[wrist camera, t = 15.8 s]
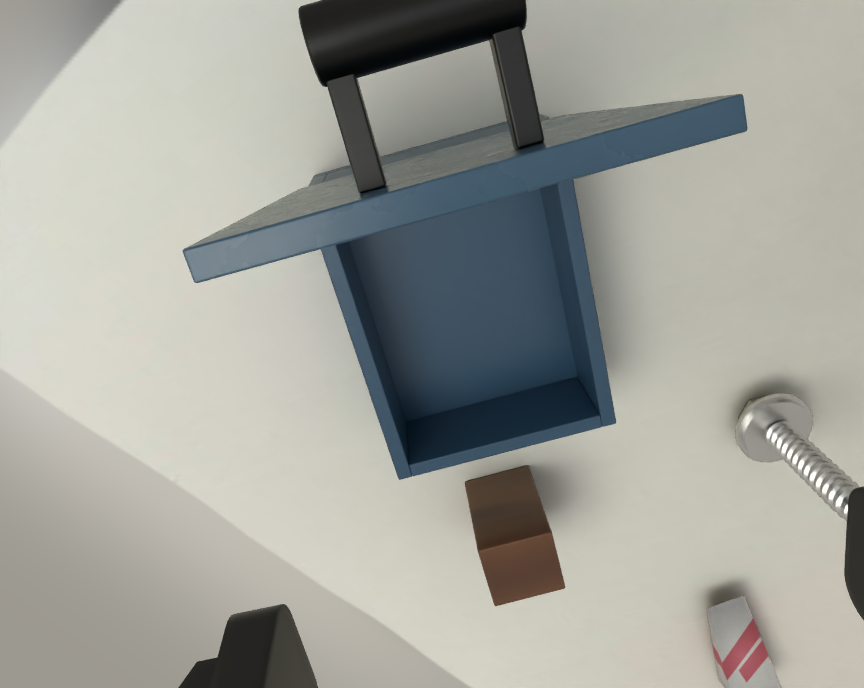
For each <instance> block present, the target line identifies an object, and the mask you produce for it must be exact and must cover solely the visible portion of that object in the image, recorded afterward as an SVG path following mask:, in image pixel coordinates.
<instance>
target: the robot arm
mask: <svg viewBox="0 0 864 688" xmlns="http://www.w3.org/2000/svg"><path fill="white" fill-rule="evenodd" d="M844 572H845V581H846V586H847V589H848V592H849V595H850V598H851V600H852V602H853V604H854V606H855V608H856V610H857V611H858V613H859V614H860V616H861V617H862V619H863V620H864V487H859V488H855V489H854V490H852V491H851V493H850V495H849V498H848V511H847V530H846V550H845V569H844ZM179 688H318V686H317V682H316V679H315V676H314V673H313V670H312V668H311V665H310V662H309V660H308V657H307V654H306V652H305V649H304V646H303V644H302V641H301V638H300V636H299V633H298V630H297V627H296V625H295V622H294V619H293V617H292V614H291V612H290V610H289V608H288V607H287V606H286V605H285V604H281V605H277V606H272V607H267V608H262V609H257V610H252V611H247V612H242V613H237V614H234V615H231V617H230V618H229V620H228V622H227V625H226V628H225V632H224V635H223V639H222V643H221V647H220V650H219V654H218V658H213V659H209V660H204V661H199V662H197V663H196V664H195V666H194V667H193V668H192V670H191V671H190V672H189V674H188V675H187V677H186V678H185V679H184V681H183V682H182V684H181V685H180V686H179Z"/></svg>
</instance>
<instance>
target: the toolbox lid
mask: <svg viewBox="0 0 864 688" xmlns="http://www.w3.org/2000/svg"><path fill="white" fill-rule="evenodd" d="M299 19H300V24H301V28H302V32H303V36H304V39H305V43H306V46H307V49H308V52H309V56H310V59H311V62H312V64H313V67H314V70H315V72H316V75H317V77H318V80H319V82H320V83H321V85H322V86H324V87H328V90H329V93H330V97H331V100H332V104H333V107H334V110H335V114H336V117H337V121H338V124H339V127H340V131H341V134H342V137H343V141H344V144H345V148H346V151H347V154H348V158H349V161H350V165H351V168H352V171H353V174H351V175H348V176H344V177H341V178H337V179H333V180H330V181H326V182H323V183H319V184H316V185H312V186H309V187H305V188H301V189H299V190H297V191H295V192H293V193H291V194H289V195H287V196H285V197H283V198H281V199H279V200H278V201H276V202H274V203H272V204H270V205H268V206H266V207H264V208H262V209H260V210H258V211H256V212H254V213H253V214H251V215H249V216H247V217H245V218H243V219H241V220H239V221H237V222H235V223H233V224H231V225H229V226H227V227H226V228H224V229H222V230H220V231H218V232H216V233H214V234H212V235H210V236H208V237H206V238H204V239H202V240H201V241H199V242H197V243H195V244H193V245H191V246H189V247H187V248H185V249H184V250H183V254H184V256H185V259H186V261H187V264H188V267H189V269H190V272H191V275H192V277H193V280H194V282H195V283H199V282H203V281H207V280H210V279H214V278H218V277H221V276H225V275H228V274H232V273H236V272H239V271H243V270H247V269H250V268H254V267H257V266H261V265H265V264H268V263H272V262H275V261H279V260H283V259H286V258H290V257H294V256H297V255H301V254H304V253H308V252H312V251H315V250H319V249H323V248H326V247H330V246H333V245H337V244H341V243H344V242H348V241H351V240H355V239H359V238H362V237H366V236H370V235H373V234H377V233H380V232H384V231H388V230H391V229H395V228H398V227H402V226H406V225H409V224H413V223H417V222H420V221H424V220H427V219H431V218H435V217H438V216H442V215H446V214H449V213H453V212H456V211H460V210H464V209H467V208H471V207H474V206H478V205H482V204H485V203H489V202H493V201H496V200H500V199H503V198H507V197H511V196H514V195H518V194H522V193H525V192H529V191H532V190H536V189H540V188H543V187H547V186H550V185H554V184H558V183H561V182H565V181H569V180H572V179H576V178H579V177H583V176H587V175H590V174H594V173H598V172H601V171H605V170H608V169H612V168H616V167H619V166H623V165H626V164H630V163H634V162H637V161H641V160H645V159H648V158H652V157H655V156H659V155H663V154H666V153H670V152H673V151H677V150H681V149H684V148H688V147H692V146H695V145H699V144H702V143H706V142H710V141H713V140H717V139H721V138H724V137H728V136H731V135H735V134H739V133H742V132H745V131H746V130H747V122H746V114H745V106H744V98H743V95H742V94H735V95H727V96H719V97H710V98H702V99H694V100H685V101H677V102H669V103H660V104H652V105H644V106H635V107H627V108H619V109H610V110H602V111H594V112H585V113H577V114H569V115H562V116H558V117H555V118H551V119H547V120H544V121H540V116H539V111H538V106H537V102H536V97H535V92H534V88H533V83H532V78H531V73H530V69H529V64H528V59H527V54H526V50H525V45H524V40H523V35H522V30H523V29H524V28H525V26H526V20H527V8H526V0H321V1H317V2H314V3H310V4H307V5H304V6H301V7H300V8H299ZM488 40H489V42H490V46H491V50H492V55H493V59H494V64H495V68H496V73H497V77H498V82H499V86H500V90H501V95H502V99H503V104H504V108H505V113H506V117H507V122H508V126H509V130H508V131H505V132H501V133H497V134H494V135H490V136H487V137H483V138H480V139H476V140H473V141H469V142H465V143H462V144H458V145H455V146H451V147H448V148H444V149H440V150H437V151H433V152H430V153H426V154H423V155H419V156H415V157H412V158H408V159H405V160H401V161H398V162H394V163H391V164H387V165H383V166H382V164H381V161H380V157H379V154H378V150H377V147H376V143H375V140H374V136H373V133H372V129H371V125H370V122H369V118H368V115H367V111H366V108H365V104H364V101H363V97H362V94H361V90H360V86H359V83H358V79H357V78H359V77H362V76H366V75H369V74H373V73H376V72H380V71H383V70H387V69H390V68H394V67H397V66H401V65H404V64H408V63H411V62H414V61H418V60H421V59H425V58H428V57H432V56H435V55H439V54H442V53H446V52H449V51H453V50H456V49H460V48H463V47H467V46H470V45H474V44H477V43H481V42H484V41H488Z"/></svg>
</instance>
